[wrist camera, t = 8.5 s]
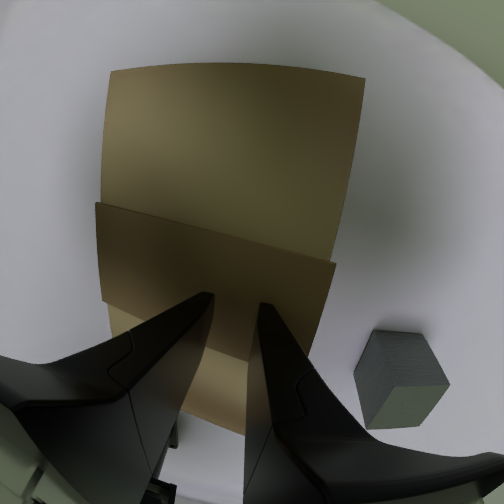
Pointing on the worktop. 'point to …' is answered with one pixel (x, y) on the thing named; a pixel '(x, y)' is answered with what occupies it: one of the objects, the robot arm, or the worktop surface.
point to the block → (398, 380)
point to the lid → (224, 204)
